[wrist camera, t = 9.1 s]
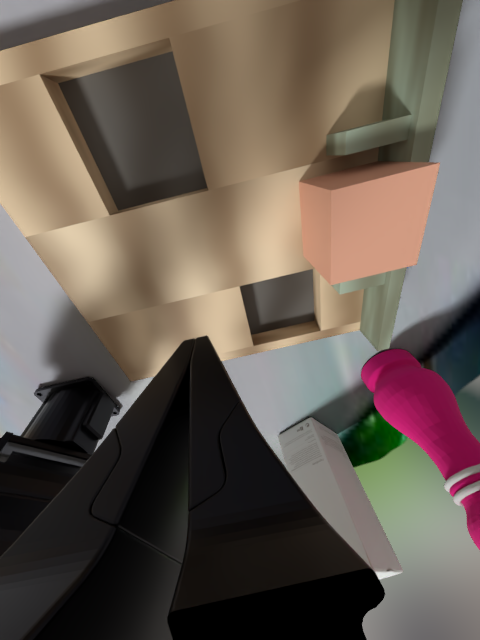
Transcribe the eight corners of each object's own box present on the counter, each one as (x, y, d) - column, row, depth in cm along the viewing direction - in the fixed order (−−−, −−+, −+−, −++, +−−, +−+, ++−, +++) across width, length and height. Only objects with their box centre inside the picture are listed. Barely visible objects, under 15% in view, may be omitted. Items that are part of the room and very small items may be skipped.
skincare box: (276, 434, 36) (312, 588, 23) (312, 413, 34) (375, 571, 21) (306, 451, 40) (351, 591, 27) (341, 433, 37) (407, 576, 25)
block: (303, 255, 18) (330, 285, 14) (298, 181, 15) (331, 190, 11) (369, 239, 18) (416, 264, 14) (376, 161, 15) (440, 162, 11)
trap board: (135, 367, 25) (121, 407, 21) (-53, 87, 13) (-179, 54, 9) (359, 316, 24) (389, 348, 20) (395, -41, 12) (493, -146, 8)
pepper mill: (402, 334, 26) (713, 624, 10) (423, 365, 30) (681, 619, 13) (346, 369, 29) (523, 649, 12) (371, 393, 32) (536, 639, 16)
